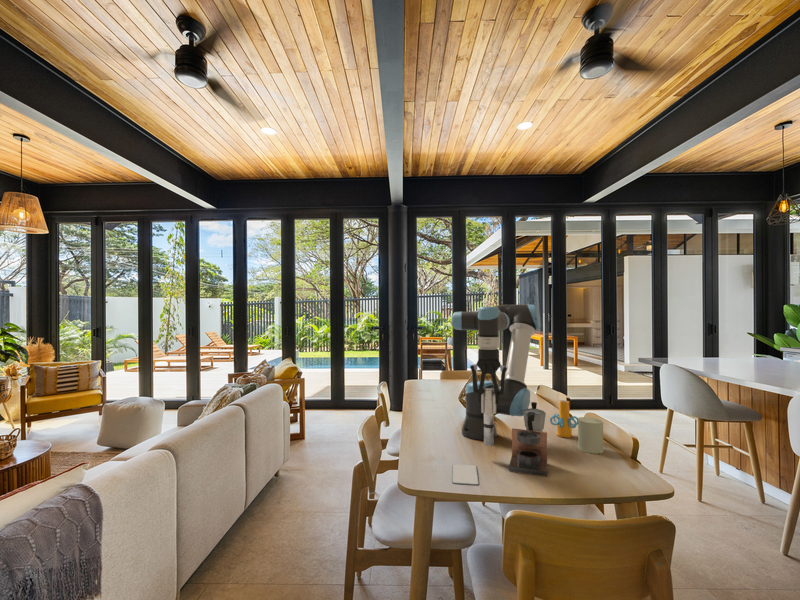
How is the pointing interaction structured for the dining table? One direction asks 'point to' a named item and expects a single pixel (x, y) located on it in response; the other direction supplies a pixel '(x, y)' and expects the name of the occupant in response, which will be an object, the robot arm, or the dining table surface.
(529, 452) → the collar stand
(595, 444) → the can
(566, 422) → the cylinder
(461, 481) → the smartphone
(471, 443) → the dining table surface
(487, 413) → the silver metal tube
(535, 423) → the coffee maker
